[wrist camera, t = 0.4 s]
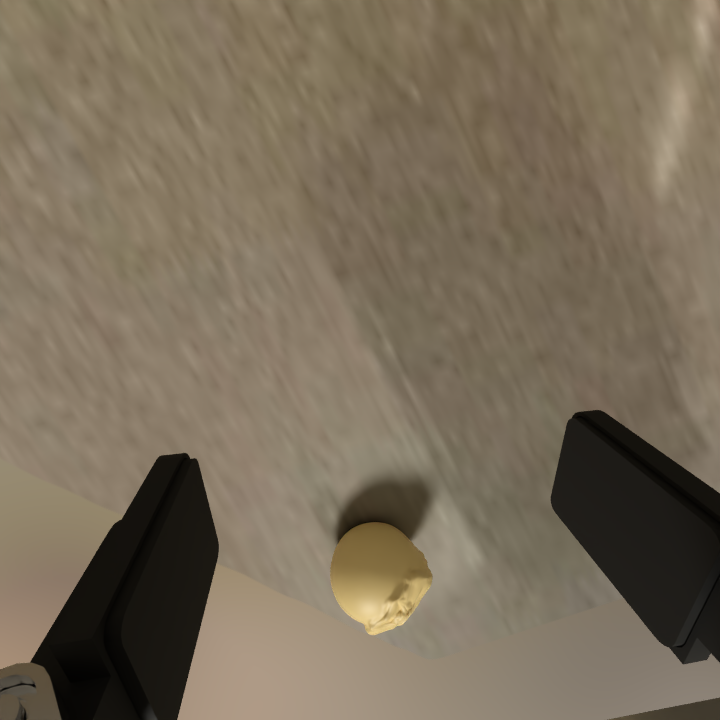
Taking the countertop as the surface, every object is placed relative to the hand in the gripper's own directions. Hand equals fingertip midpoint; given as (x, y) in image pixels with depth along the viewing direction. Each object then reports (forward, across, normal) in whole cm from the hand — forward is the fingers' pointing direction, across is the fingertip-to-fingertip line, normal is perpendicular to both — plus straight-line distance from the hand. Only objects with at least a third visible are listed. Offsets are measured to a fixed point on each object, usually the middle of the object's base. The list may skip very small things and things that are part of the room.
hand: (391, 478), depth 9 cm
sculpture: (+31, -4, +38) cm, 49 cm away
